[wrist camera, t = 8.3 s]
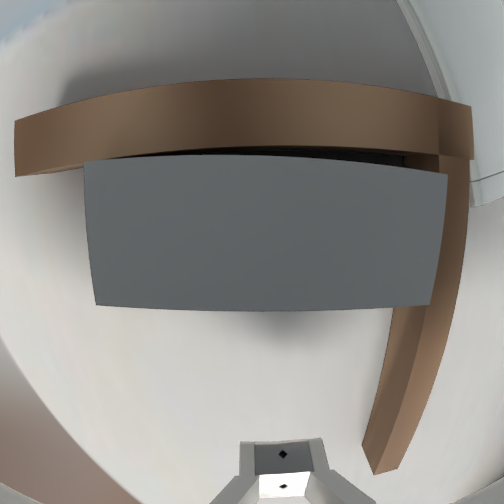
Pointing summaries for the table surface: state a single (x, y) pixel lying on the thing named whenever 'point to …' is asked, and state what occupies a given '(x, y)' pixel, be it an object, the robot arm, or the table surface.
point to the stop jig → (294, 138)
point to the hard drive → (468, 76)
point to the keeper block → (261, 233)
